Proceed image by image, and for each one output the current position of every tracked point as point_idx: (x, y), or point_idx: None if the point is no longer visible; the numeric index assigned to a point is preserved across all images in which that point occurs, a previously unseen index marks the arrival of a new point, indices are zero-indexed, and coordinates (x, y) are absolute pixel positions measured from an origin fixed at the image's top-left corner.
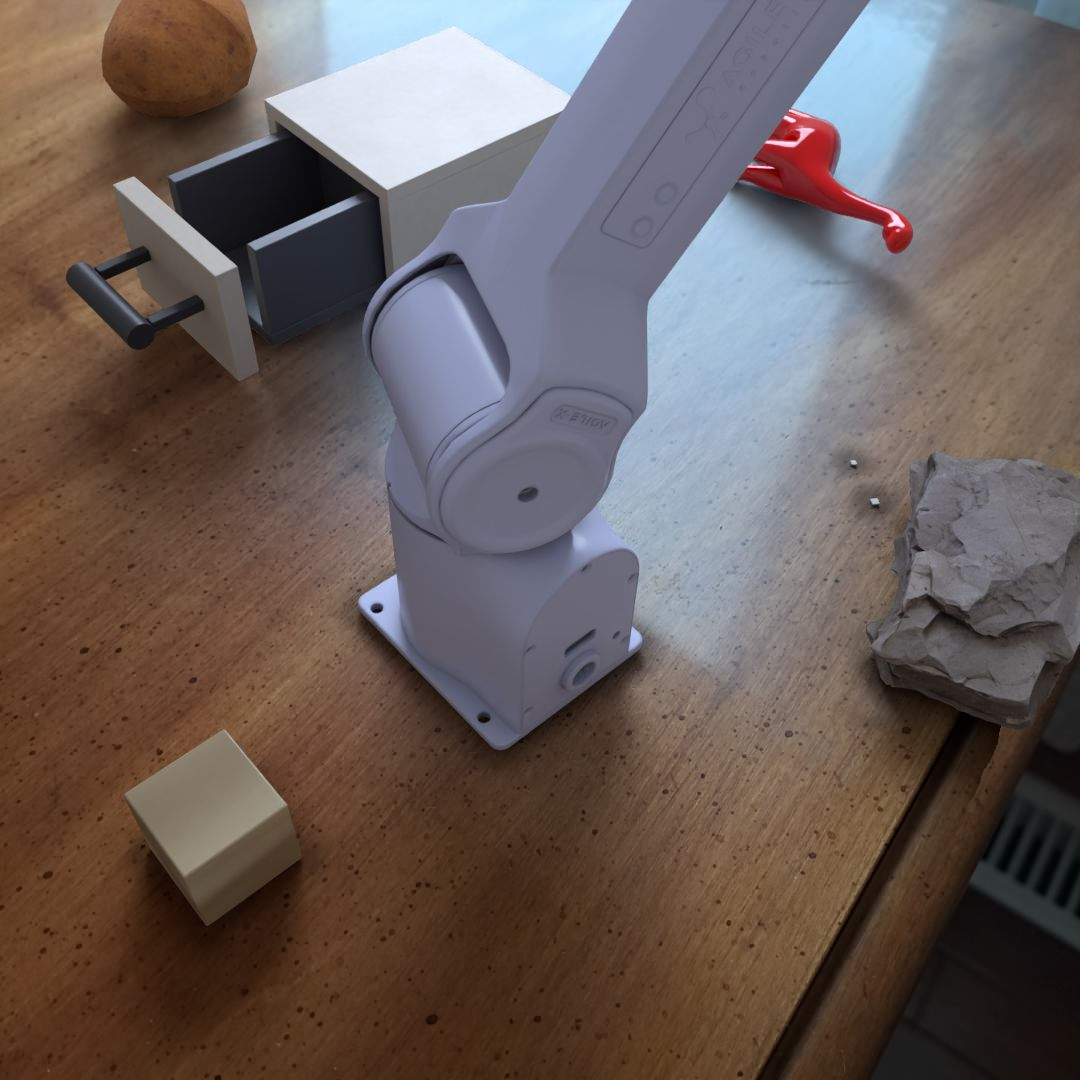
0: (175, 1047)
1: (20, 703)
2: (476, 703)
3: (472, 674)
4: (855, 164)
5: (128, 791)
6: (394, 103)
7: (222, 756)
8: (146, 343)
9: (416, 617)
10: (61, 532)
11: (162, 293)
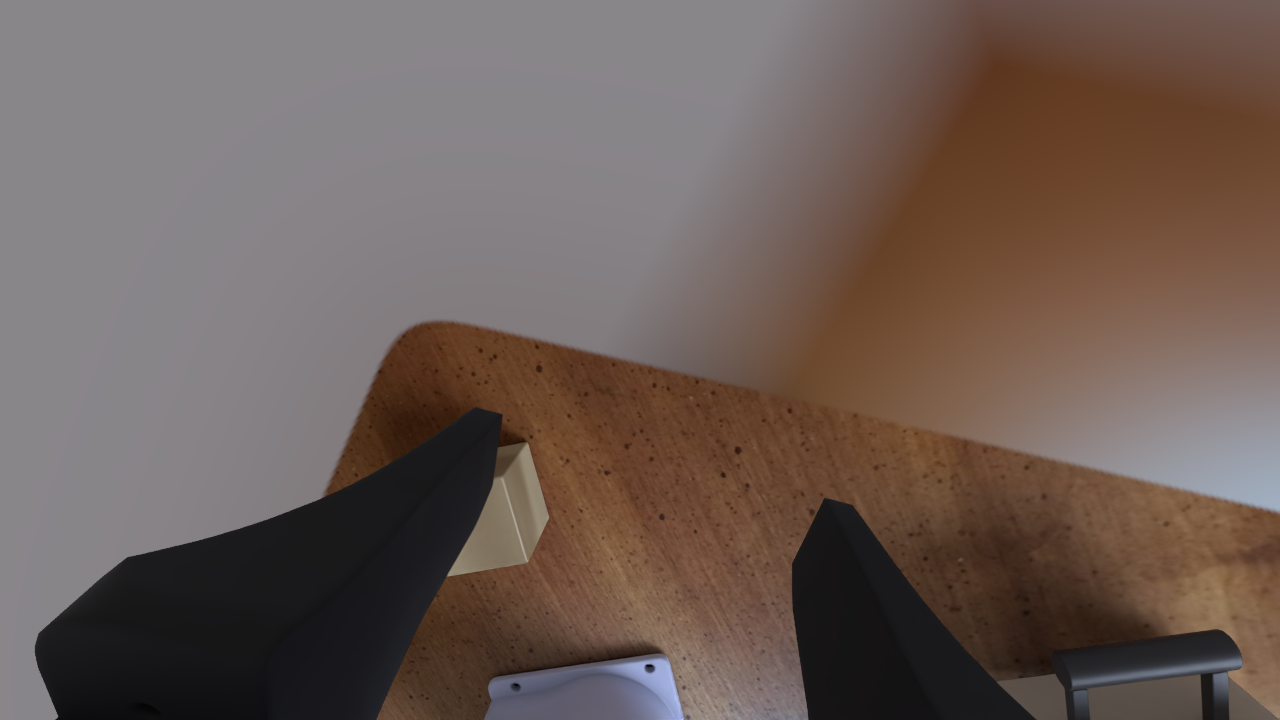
0: (376, 410)
1: (709, 388)
2: (528, 688)
3: (536, 709)
4: None
5: (502, 480)
6: None
7: (501, 553)
8: (1054, 665)
9: (580, 716)
10: (890, 470)
11: (1159, 685)
